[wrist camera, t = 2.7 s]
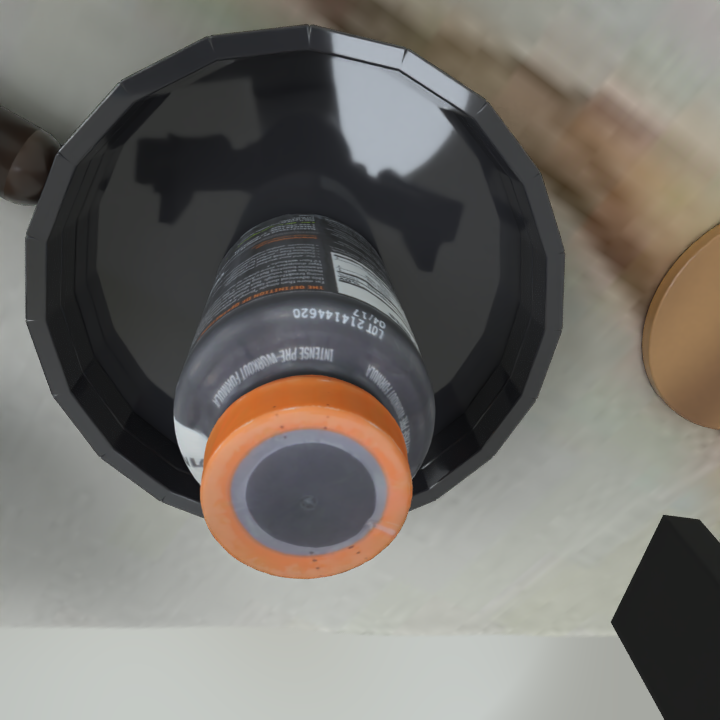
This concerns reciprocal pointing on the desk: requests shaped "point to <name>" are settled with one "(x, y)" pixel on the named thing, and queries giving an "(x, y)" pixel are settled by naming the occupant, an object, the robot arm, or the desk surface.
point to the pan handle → (24, 158)
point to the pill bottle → (304, 401)
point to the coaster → (687, 334)
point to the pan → (282, 197)
